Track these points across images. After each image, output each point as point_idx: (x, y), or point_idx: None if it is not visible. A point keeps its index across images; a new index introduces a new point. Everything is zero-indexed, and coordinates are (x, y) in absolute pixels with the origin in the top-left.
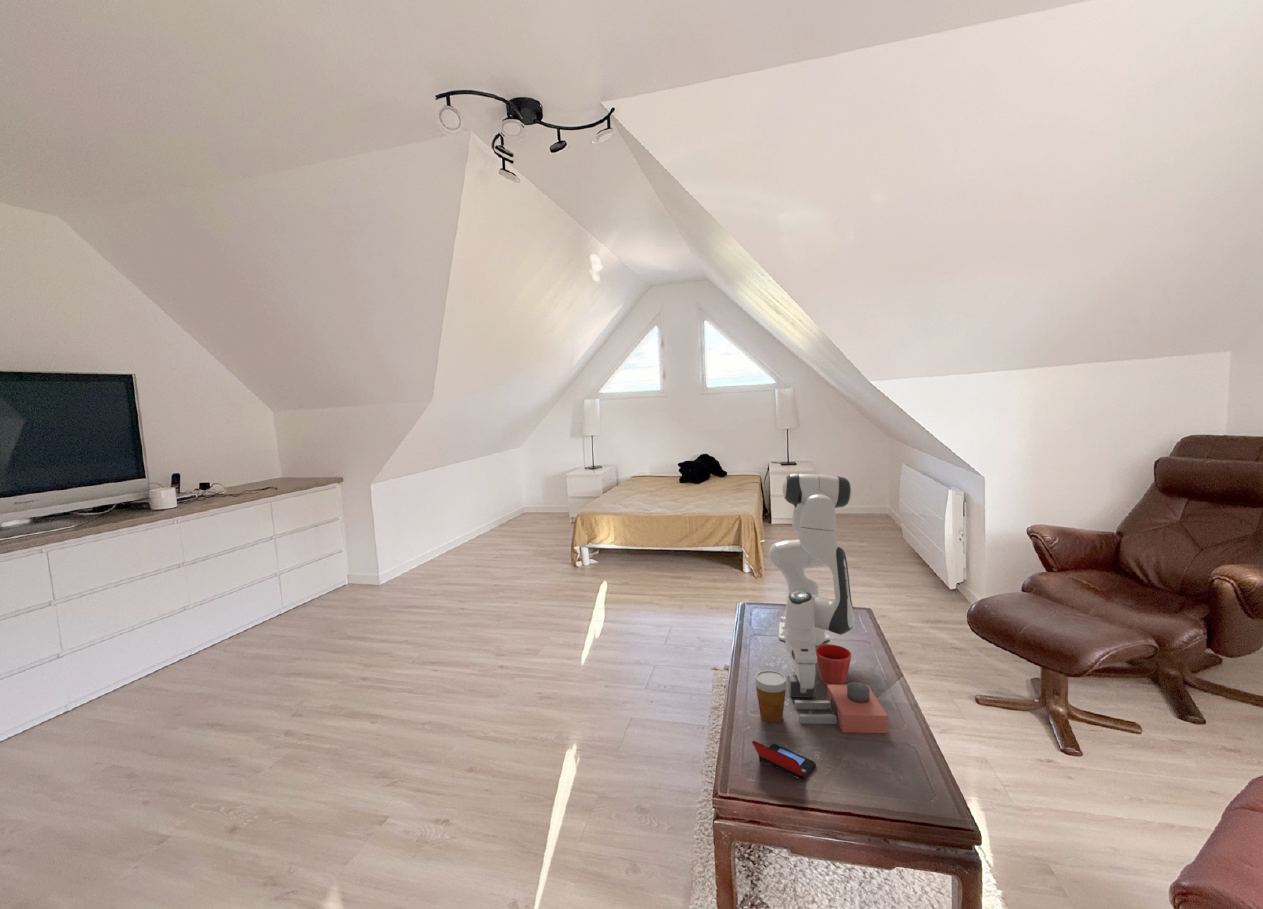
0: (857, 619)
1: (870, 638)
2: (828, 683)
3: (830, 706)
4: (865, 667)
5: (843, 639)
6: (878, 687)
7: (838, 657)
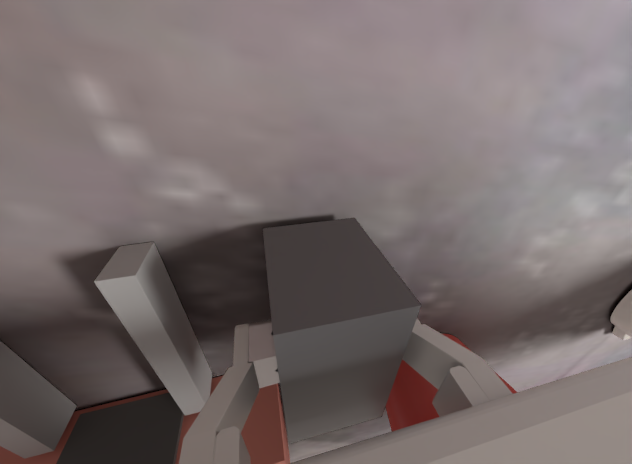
0: None
1: None
2: None
3: (217, 377)
4: None
5: (587, 355)
6: (357, 432)
7: None
